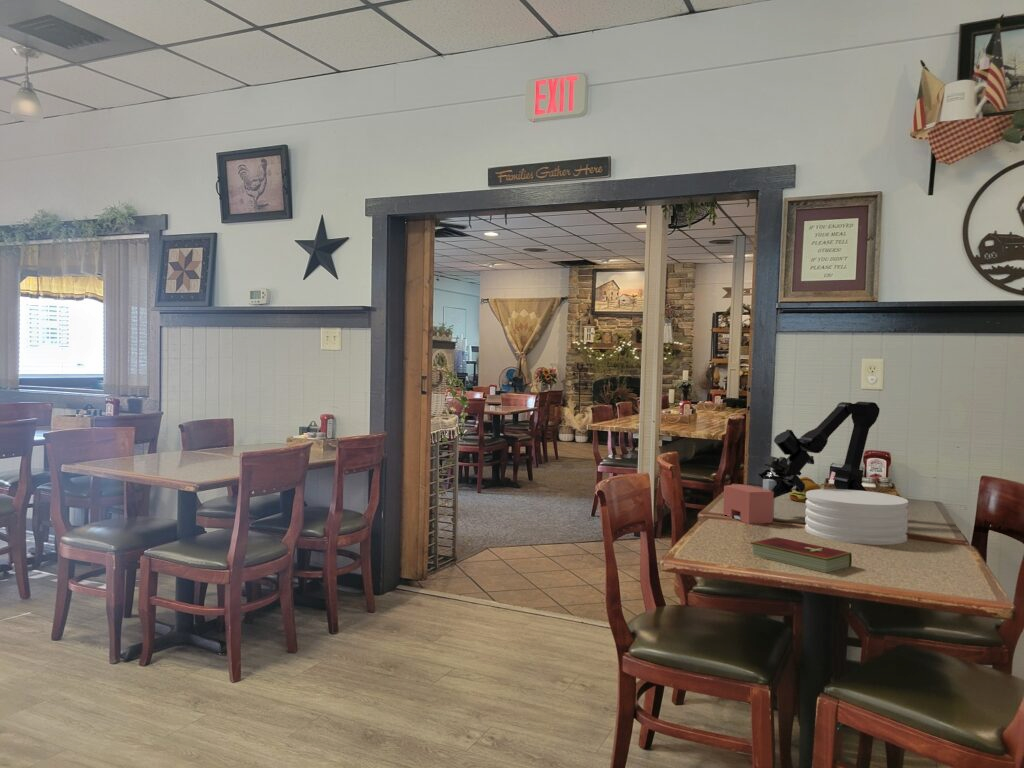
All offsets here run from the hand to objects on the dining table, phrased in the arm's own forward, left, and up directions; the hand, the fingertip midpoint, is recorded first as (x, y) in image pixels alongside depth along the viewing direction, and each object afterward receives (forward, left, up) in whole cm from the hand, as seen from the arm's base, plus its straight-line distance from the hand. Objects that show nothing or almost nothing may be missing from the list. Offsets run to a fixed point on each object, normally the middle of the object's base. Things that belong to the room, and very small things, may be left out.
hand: (764, 498), depth 245 cm
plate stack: (-25, -15, -7) cm, 30 cm away
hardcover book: (-52, +22, -7) cm, 57 cm away
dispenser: (-1, +7, -7) cm, 9 cm away
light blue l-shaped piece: (0, +4, -6) cm, 8 cm away
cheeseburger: (+30, -35, -7) cm, 46 cm away
